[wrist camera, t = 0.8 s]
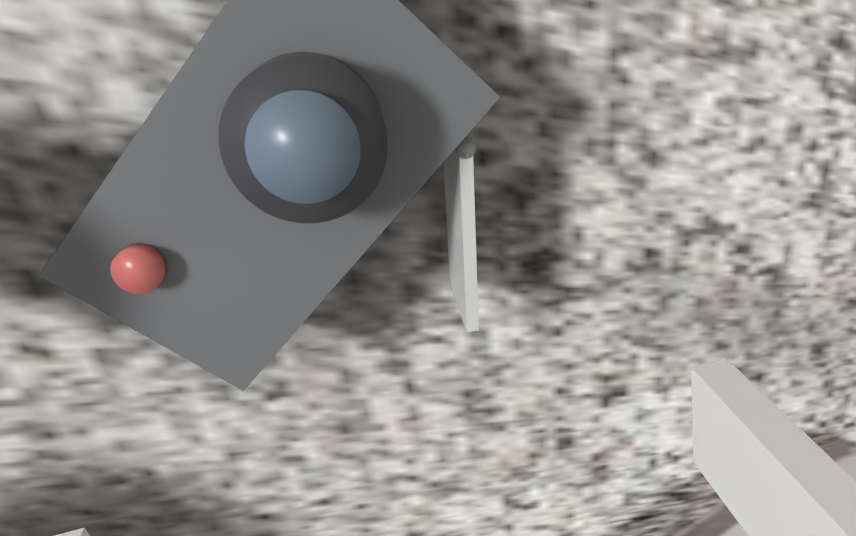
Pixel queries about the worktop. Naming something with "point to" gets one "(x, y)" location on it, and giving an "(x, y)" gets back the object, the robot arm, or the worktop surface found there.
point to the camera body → (267, 175)
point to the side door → (462, 230)
